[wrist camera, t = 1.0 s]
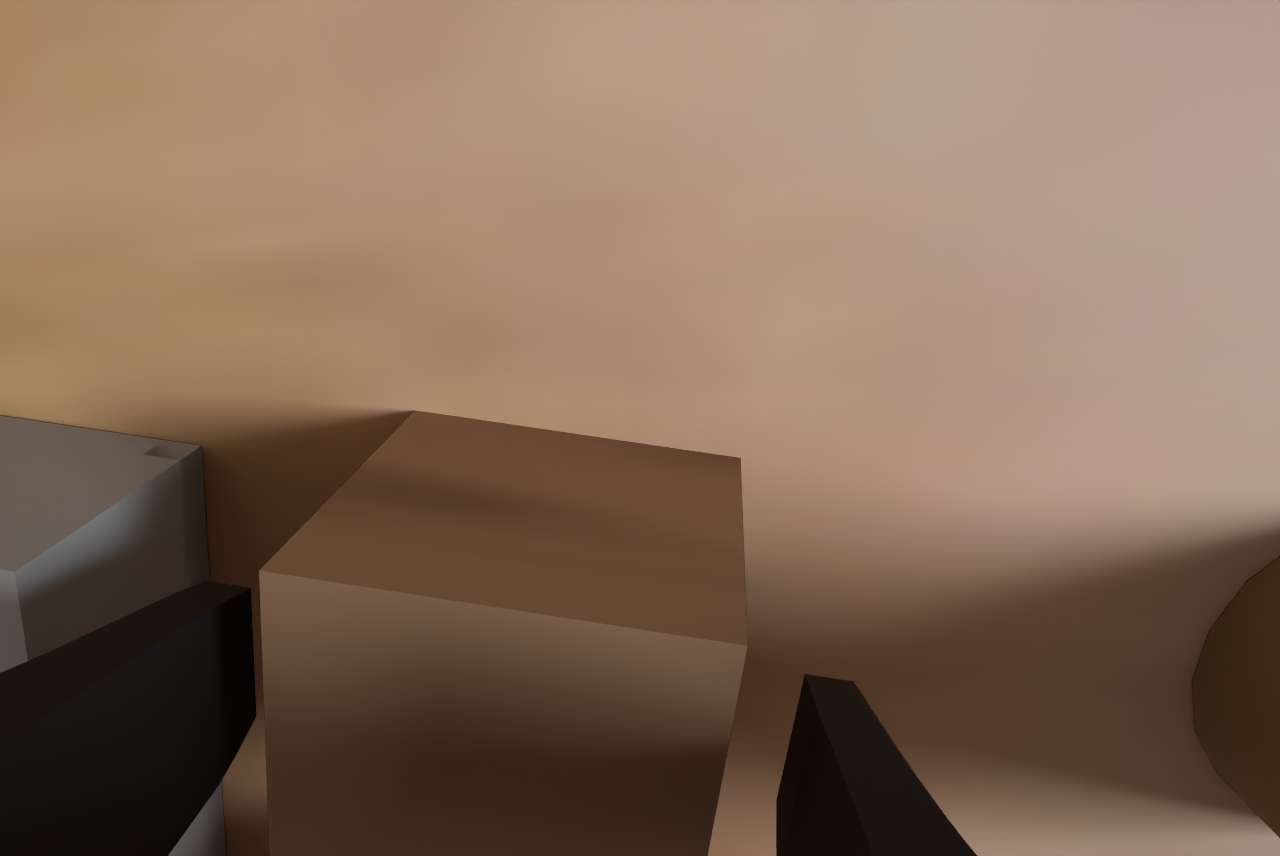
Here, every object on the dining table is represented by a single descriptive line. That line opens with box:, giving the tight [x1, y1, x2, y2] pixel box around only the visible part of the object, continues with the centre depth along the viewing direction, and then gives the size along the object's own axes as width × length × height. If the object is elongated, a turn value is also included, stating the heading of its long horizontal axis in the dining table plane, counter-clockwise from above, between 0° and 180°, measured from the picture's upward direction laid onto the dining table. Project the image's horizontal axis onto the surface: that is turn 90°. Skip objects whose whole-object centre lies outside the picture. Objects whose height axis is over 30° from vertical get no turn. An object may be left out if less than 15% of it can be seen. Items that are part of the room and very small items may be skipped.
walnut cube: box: [259, 411, 748, 856], centre depth 12 cm, size 5×5×5 cm
